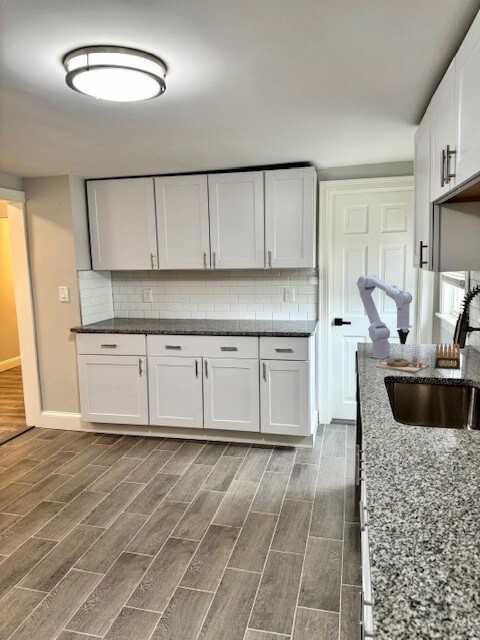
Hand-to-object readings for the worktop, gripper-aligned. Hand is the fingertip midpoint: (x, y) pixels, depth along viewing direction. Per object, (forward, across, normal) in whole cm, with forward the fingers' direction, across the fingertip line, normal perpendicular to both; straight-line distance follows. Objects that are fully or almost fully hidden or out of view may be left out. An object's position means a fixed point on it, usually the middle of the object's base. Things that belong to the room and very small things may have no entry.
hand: (402, 344), depth 220 cm
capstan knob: (+8, -9, +2) cm, 12 cm away
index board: (+9, -9, +1) cm, 13 cm away
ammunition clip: (+10, -10, -18) cm, 23 cm away
